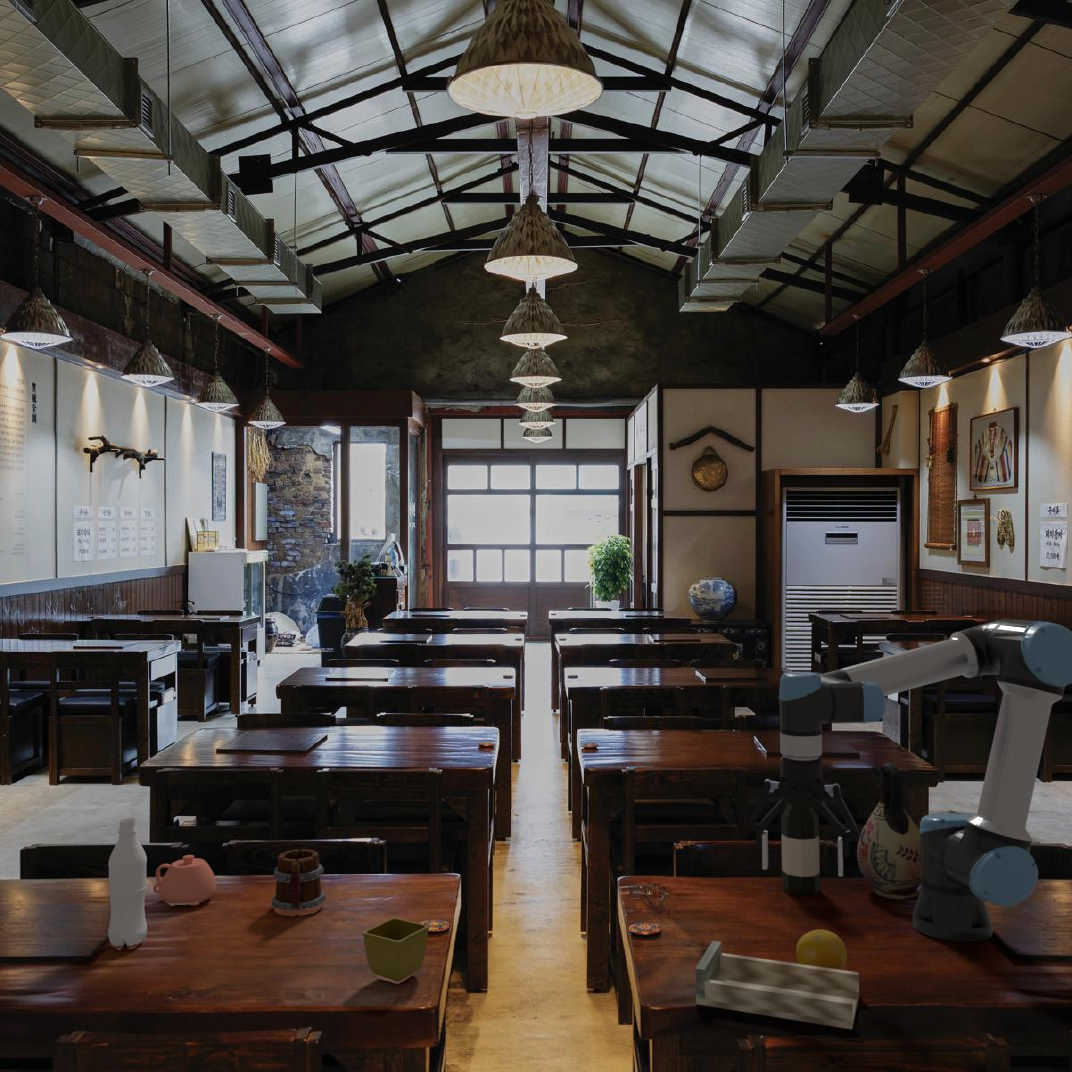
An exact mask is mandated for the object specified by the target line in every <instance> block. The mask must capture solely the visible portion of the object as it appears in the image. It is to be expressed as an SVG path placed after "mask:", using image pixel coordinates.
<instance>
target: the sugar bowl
mask: <svg viewBox="0 0 1072 1072" xmlns="http://www.w3.org/2000/svg"><path fill="white" fill-rule="evenodd" d="M163 868H166V869H167V870H166V872H165V873H164V876H163V877H161V870H162V869H163ZM155 877H156V881H157V883H155V884H154V885H153V888H152V889H153V892H154V893H156V894H159V897H160V899H161V901H163V900H164V901H166V902H169V903H188V902H195V901H199V900H203V899H207V898H209V897H211V896H212V895H215V893H216V891H217V889H218V885H217V884H218V882H217V879H216V875H215V874H214V871H213V870H212V868H211V867H210V865H209V863H208V862H207V861H206V860H205V859H202V858H198V857H197V858H196V857H195V855H193V854H187V855H183V856H182V859H179V860H176V861H174V862H172V863H171V864H169V863H163V864H161V865H159V866H158V867H157V868H156V871H155ZM157 887H158V888H157ZM212 897H213V896H212ZM212 897H211V898H212ZM164 901H163V902H164Z"/></svg>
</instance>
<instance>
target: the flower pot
mask: <svg viewBox="0 0 1072 1072" xmlns="http://www.w3.org/2000/svg"><path fill="white" fill-rule="evenodd" d="M428 934H429V925H426V924H424V923H423V924H422V923H419V922H415V921H410V920H406V919H401V918H398V917H391V918H389V919H387V920H386V921H383V922H382V923H379V924H377V925H376V926H373V927H372V928H369V929H366V930H364V931H363V932H362V936H363V942H364V943H363V944H364V949H365V956H366V960H367V963H368V966H369V969H370V970H371V972H372V973H373V975H374V974H376V975H380V976H383V977H385V978H389V979H391V980H394V981H397V982H399V981H401V980H403V979H404V978H406V977H407V976H409V975H411V974H413V973H415V972H417V973H418V971H419V970H420V967H421V966H422V964H423V961H424V959H425V956H426V951H427V945H428V936H429V935H428Z"/></svg>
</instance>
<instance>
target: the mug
mask: <svg viewBox="0 0 1072 1072" xmlns="http://www.w3.org/2000/svg"><path fill="white" fill-rule="evenodd" d="M319 856H320V855H319V853H318V851H315V850H313V849H307V848H303V849H302V848H301V849H300V850H299V849H292V850H288V851H283V852H282V853H280V854H279V855H278V856H277V866H276V867H275V868H274V872H273V878H274V879H275V880H276V884H275V894H273V896H272V898H271V902H270V905H271V907H272V906H273V907H274V908H278V909H282V910H301V909H306V908H313V907H315V906H318V905H319V904H321V903H322V902H323V901H324V899H325V900H327V895H325V892H324V891H323V890H322V886H321V884H322V883H321V877H322V875H323V872H325V871H324V869H325V868H324V867H323V865H322V864H321V863H320V857H319ZM273 907H272V908H273ZM274 908H273V909H274Z"/></svg>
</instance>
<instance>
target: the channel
mask: <svg viewBox="0 0 1072 1072" xmlns="http://www.w3.org/2000/svg"><path fill="white" fill-rule="evenodd" d="M694 972H695V1005H700V1006H705V1007H711V1008H719V1009H724V1010H732V1011H736V1012H737V1011H738V1012H743V1013H748V1014H756V1015H761V1016H767V1017H768V1016H769V1017H775V1018H779V1019H780V1018H781V1019H786V1020H792V1021H799V1022H805V1023H811V1024H816V1025H823V1026H829V1027H836V1028H841V1029H849V1030H853V1027H854V1022H855V1017H856V1013H857V1008H858V1003H859V999H860V973H859V971H858V972H857V971H851V970H846V969H845V970H844V969H843V970H838V969H831V968H824V967H817V966H810V965H803V964H799V963H795V962H788V961H783V960H782V961H780V960H773V959H768V958H767V959H766V958H759V957H754V956H747V955H746V956H745V955H740V954H739V955H738V954H732V953H725V952H722V942H721V941H718V940H711V943H710V945H709V946H708V948H707V949H706V951H705V952H704V954H703V955H702V957H701V959H700V960H699V962H698V963H697V965H696V966H695V971H694Z"/></svg>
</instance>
